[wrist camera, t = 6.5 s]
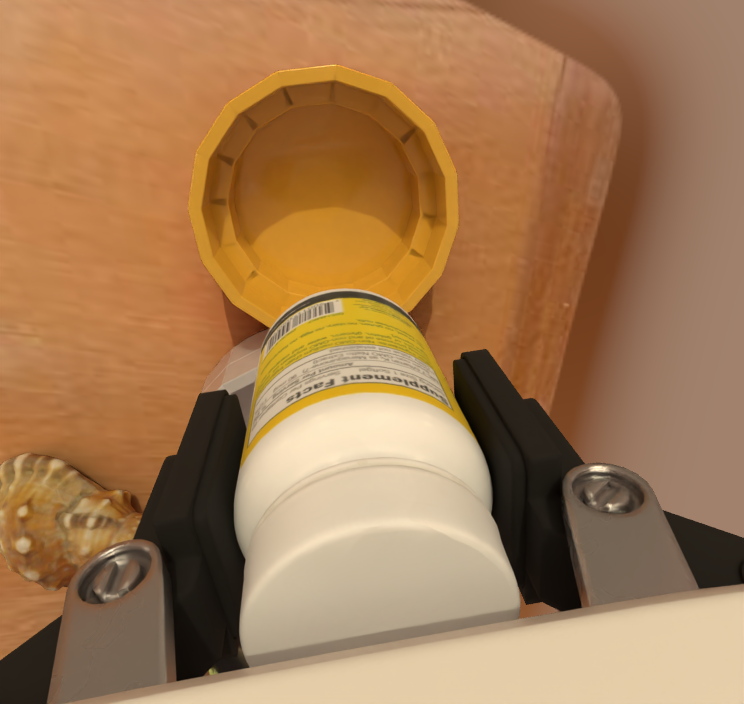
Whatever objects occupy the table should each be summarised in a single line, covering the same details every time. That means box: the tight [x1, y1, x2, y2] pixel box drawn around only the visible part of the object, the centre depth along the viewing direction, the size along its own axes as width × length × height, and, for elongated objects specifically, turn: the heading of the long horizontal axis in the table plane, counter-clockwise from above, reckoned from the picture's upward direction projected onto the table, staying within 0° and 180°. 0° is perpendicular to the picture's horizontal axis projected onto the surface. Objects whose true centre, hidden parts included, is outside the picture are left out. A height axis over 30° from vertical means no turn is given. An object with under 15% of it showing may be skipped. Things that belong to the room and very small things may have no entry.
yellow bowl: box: [188, 64, 459, 328], centre depth 26 cm, size 12×12×5 cm
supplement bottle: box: [234, 288, 520, 668], centre depth 11 cm, size 5×5×8 cm
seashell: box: [0, 453, 143, 591], centre depth 32 cm, size 9×8×10 cm
